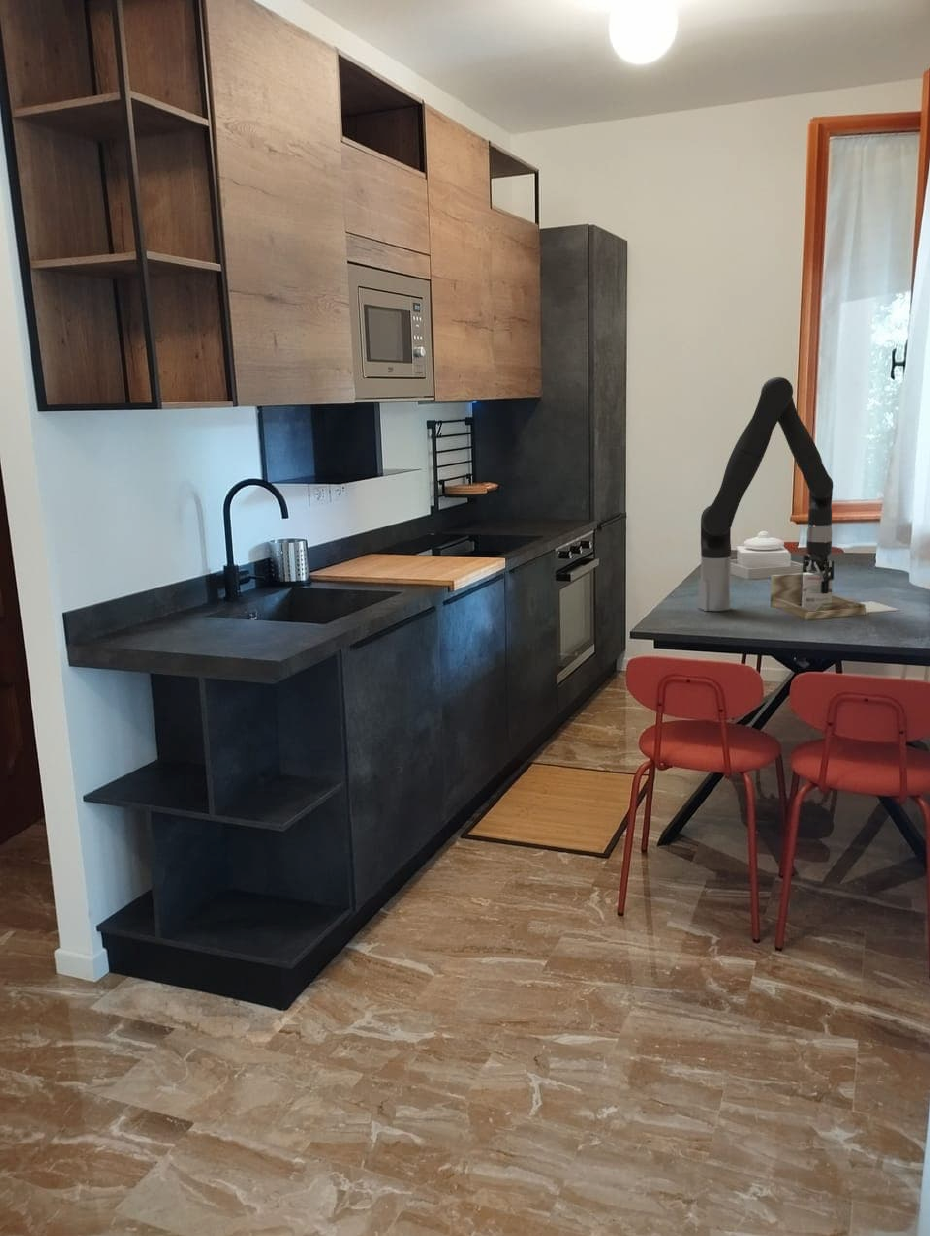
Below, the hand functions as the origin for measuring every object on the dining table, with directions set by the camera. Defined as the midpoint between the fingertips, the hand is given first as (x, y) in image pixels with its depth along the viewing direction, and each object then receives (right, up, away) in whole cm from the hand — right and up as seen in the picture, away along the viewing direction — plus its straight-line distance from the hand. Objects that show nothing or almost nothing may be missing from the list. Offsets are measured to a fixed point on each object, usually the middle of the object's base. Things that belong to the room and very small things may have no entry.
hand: (817, 590), depth 313 cm
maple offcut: (+9, -7, -6) cm, 13 cm away
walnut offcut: (+2, -6, -7) cm, 10 cm away
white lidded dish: (+3, +9, +70) cm, 70 cm away
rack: (0, -6, +1) cm, 6 cm away
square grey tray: (+3, +9, +70) cm, 70 cm away
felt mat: (+16, -5, +1) cm, 17 cm away
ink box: (0, -6, +1) cm, 6 cm away
